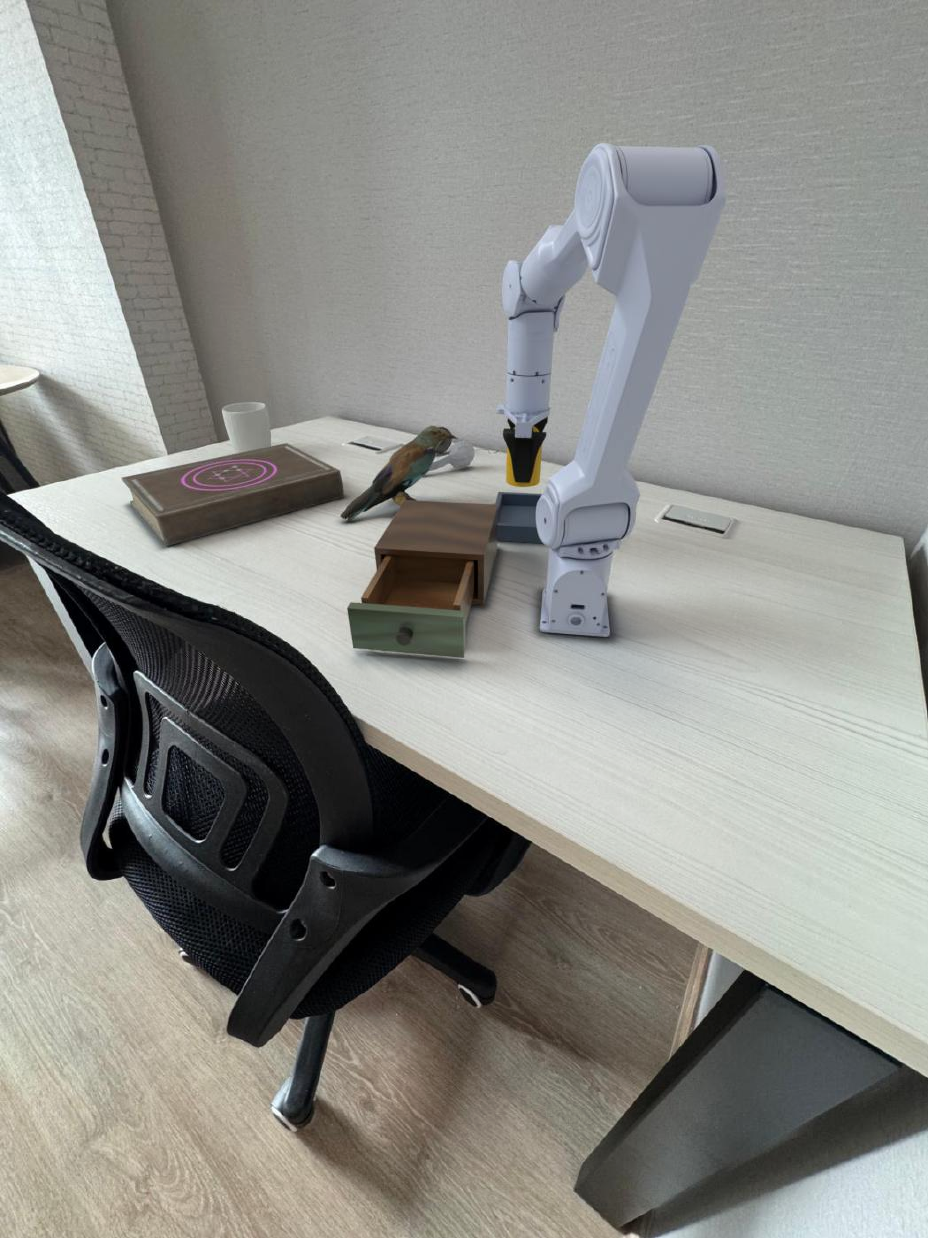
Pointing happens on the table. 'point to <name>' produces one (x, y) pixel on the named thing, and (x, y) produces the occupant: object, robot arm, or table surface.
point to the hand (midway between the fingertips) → (523, 474)
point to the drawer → (415, 606)
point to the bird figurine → (400, 472)
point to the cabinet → (445, 535)
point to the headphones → (453, 453)
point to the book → (231, 491)
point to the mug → (247, 426)
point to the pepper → (536, 471)
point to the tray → (517, 517)
